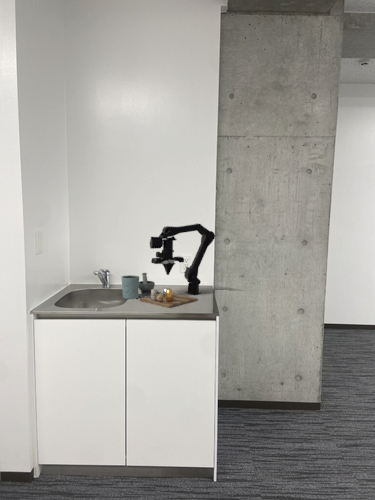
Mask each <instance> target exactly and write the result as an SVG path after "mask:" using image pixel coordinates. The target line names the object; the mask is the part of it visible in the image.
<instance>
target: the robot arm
mask: <svg viewBox="0 0 375 500" xmlns="http://www.w3.org/2000/svg"><path fill="white" fill-rule="evenodd" d="M190 232H197V233H199V234H200V235H201V238H200V245H199V247H198V248H197V252H196V253H195V256H194V258H193V260H192V263H191V264H190V266H186V268H185V271H184V272H183V273H184V275H183V277H184V279H185V280H186V281H187V283H188V284H187V285H188V286H187V292H185V293H186V294H189V295H193V296H195V295H196V296H197V295H198V294H201V293H202V292H200V291H199V290H200V284H201V281H202V280H201V279H199V278H198V276H199V267H200V265H201V263H202V261H203V258H204V256H205V254H206V251H207V249H208V247H209V246H210V245H211V244H212V243H213V241H214V240H215V238H216V235H215V232H214V231H211V230H209V229H207V228H206V227H205V226H204V225H202V223H194V224H187V225H180V226H171V225H170V226H168V225H167V226H163V228H162V230H161V233H160V234H159V236H150V240H149V247H150V248H149V249H152V250H153V249H161V252H160V251H156V252H155V257H151V261H150V263H151V264H154V265H162V266H163V268H164V270H165V271H164V272H165V273H166V275H167V276H169V275H170V274H171V271H172V268H173V267H174V266H175V265H176V262H179V263H184V262H185V259H184V257H183V256H180V255H179V256H174V253H175V250H174V241H177V240H178V239H177V238H176V237H175V236H176V235H179V234H184V233H190Z"/></svg>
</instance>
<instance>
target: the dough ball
mask: <svg viewBox="0 0 375 500" xmlns="http://www.w3.org/2000/svg"><path fill="white" fill-rule="evenodd" d="M157 295H158V296H157V300H158V301H162V300H163V296H162V295H159V294H157Z"/></svg>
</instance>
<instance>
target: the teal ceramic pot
mask: <svg viewBox="0 0 375 500" xmlns="http://www.w3.org/2000/svg"><path fill="white" fill-rule="evenodd" d="M139 282H140V275H131V274H130V275H127V274H126V275H122V276H121V289H122V298H123V299H125V300H135V299H136V300H137V299H138V298H139Z"/></svg>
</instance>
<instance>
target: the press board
mask: <svg viewBox="0 0 375 500" xmlns="http://www.w3.org/2000/svg"><path fill="white" fill-rule="evenodd" d="M157 293H158V289H156V288H154V289H151V294H150V295H149V296H147V297H142V298H139V302H142V303H147V304H151V305H155V306H159V307H164V308H168V309H169V308H174V307H178V306H181V305H186V304H189V303H193V302H197V301H198V298H197V297H192V296H189V295H184V294H178V293H174V292H172V301H171V302H167V301H166V298H165V296H163V293H159V294H157ZM158 295H162V296H163V300H162V301H158V300H157V296H158Z"/></svg>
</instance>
